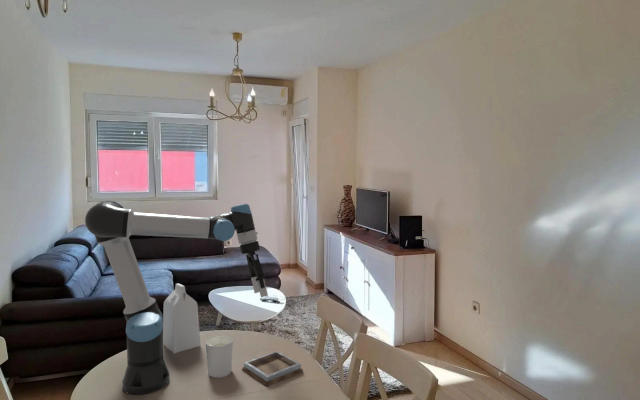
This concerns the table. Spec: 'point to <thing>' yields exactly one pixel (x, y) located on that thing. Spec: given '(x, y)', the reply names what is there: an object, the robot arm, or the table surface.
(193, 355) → the table surface
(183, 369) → the table surface
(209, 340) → the candle holder
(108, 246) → the robot arm
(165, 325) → the milk
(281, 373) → the grey square frame
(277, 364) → the walnut plate
